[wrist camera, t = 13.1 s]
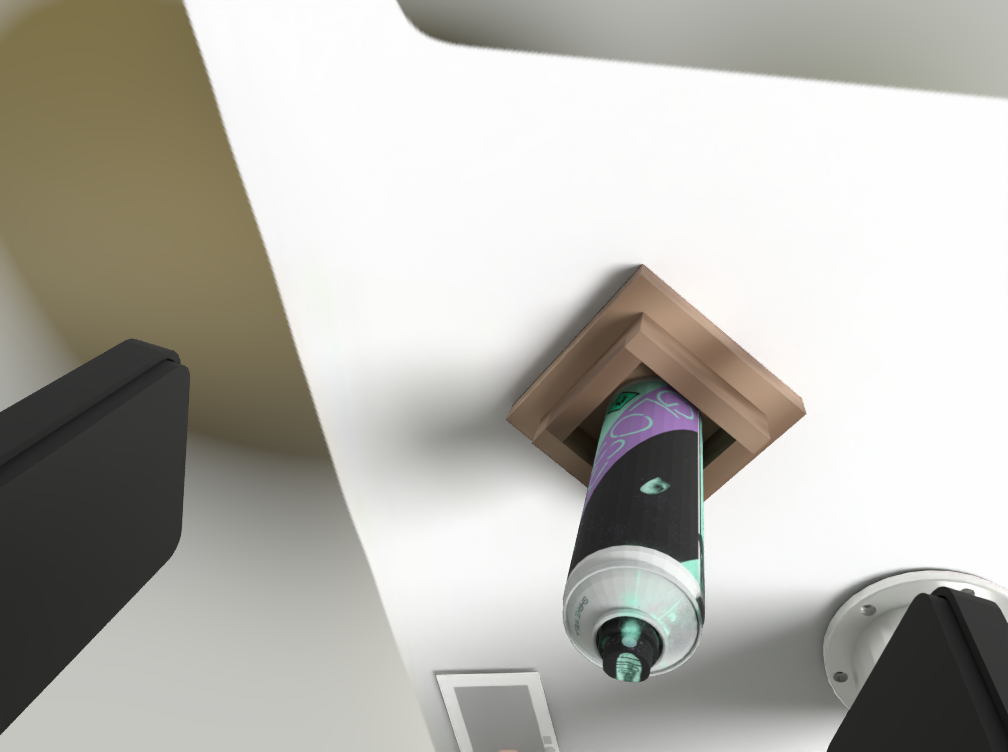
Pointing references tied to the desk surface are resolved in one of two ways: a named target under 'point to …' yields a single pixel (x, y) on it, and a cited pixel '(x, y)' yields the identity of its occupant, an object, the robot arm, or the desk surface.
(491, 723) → the touchpad
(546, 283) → the desk surface
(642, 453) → the spray can
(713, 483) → the display stand
